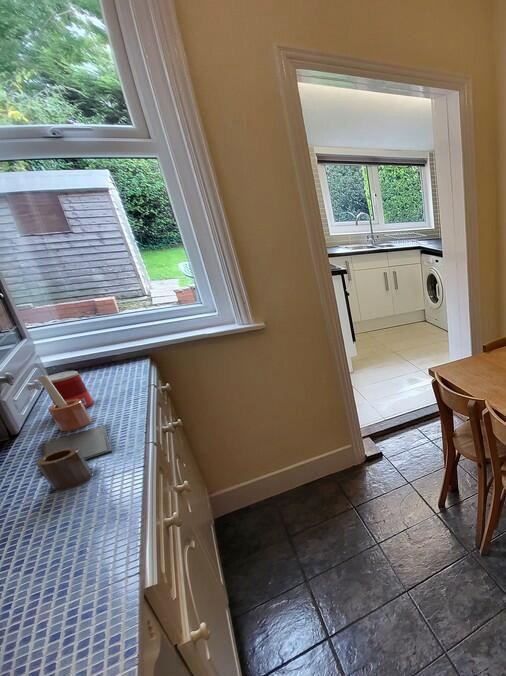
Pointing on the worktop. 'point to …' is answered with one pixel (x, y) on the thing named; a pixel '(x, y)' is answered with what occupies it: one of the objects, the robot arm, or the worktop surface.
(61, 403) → the cream long square bar
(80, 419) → the pen holder
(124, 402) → the worktop surface
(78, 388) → the canned food
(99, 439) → the tablet
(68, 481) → the stand
